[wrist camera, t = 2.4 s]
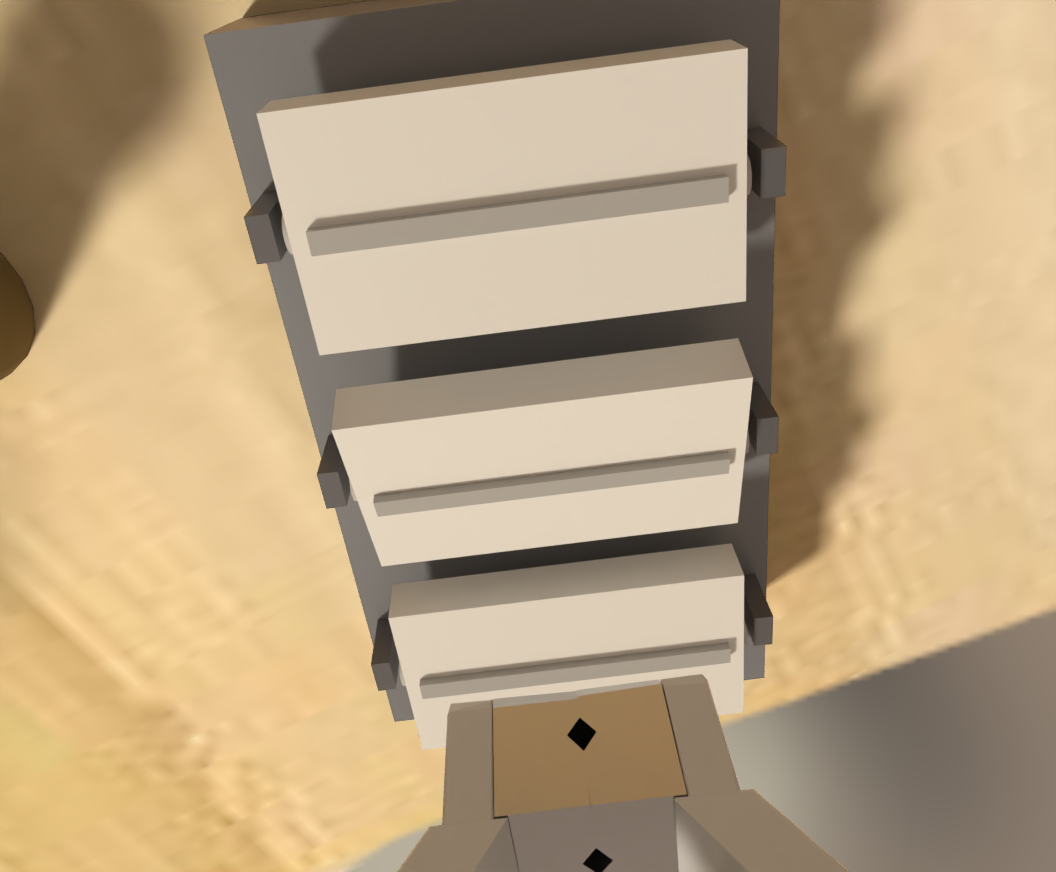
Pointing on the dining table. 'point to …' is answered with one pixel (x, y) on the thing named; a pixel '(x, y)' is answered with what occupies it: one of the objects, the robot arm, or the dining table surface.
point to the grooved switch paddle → (571, 630)
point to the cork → (14, 319)
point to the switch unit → (481, 46)
